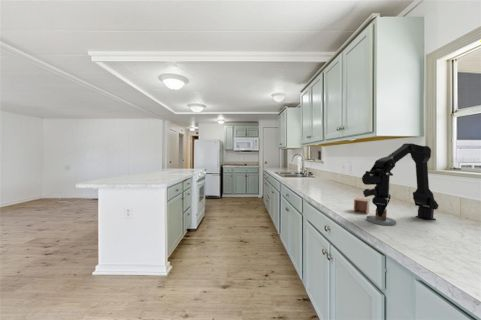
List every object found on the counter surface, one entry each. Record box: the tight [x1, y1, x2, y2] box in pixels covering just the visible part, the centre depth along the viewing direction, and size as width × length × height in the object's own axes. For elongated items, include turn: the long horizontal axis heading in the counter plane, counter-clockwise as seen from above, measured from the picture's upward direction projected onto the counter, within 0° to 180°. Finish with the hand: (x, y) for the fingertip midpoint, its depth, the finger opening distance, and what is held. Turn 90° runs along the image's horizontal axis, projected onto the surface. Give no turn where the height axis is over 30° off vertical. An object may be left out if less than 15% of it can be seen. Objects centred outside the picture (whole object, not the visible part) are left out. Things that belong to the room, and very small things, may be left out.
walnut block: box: [374, 207, 388, 221], centre depth 116 cm, size 4×4×5 cm
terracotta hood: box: [353, 197, 371, 215], centre depth 134 cm, size 7×7×8 cm
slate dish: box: [365, 215, 397, 227], centre depth 116 cm, size 13×13×1 cm
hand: (381, 214), depth 116 cm, fingers open, 9 cm apart
